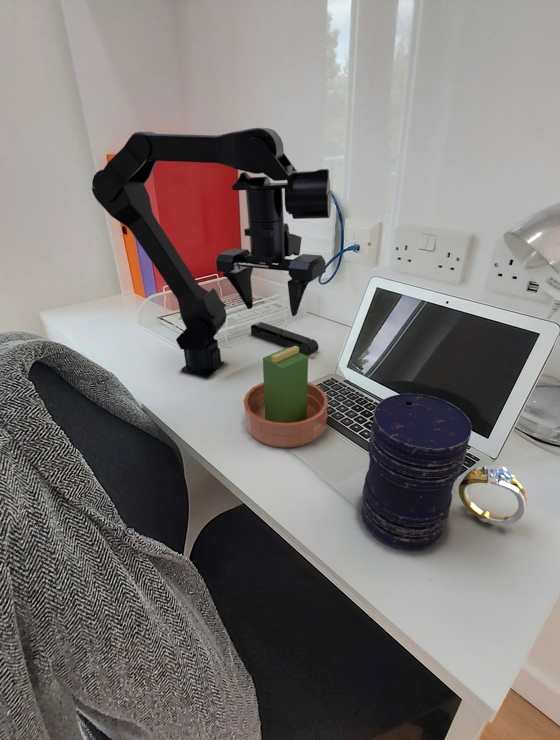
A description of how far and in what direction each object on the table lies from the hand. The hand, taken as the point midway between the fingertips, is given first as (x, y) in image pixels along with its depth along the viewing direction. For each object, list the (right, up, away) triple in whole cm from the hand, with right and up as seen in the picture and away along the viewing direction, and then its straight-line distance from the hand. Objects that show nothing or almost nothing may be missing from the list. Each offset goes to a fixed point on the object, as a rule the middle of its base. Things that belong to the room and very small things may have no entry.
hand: (271, 311), depth 74 cm
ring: (+26, -30, -24) cm, 46 cm away
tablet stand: (+2, -4, +19) cm, 19 cm away
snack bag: (+2, -19, -7) cm, 20 cm away
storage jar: (+16, -29, -23) cm, 41 cm away
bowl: (+2, -19, -7) cm, 21 cm away
